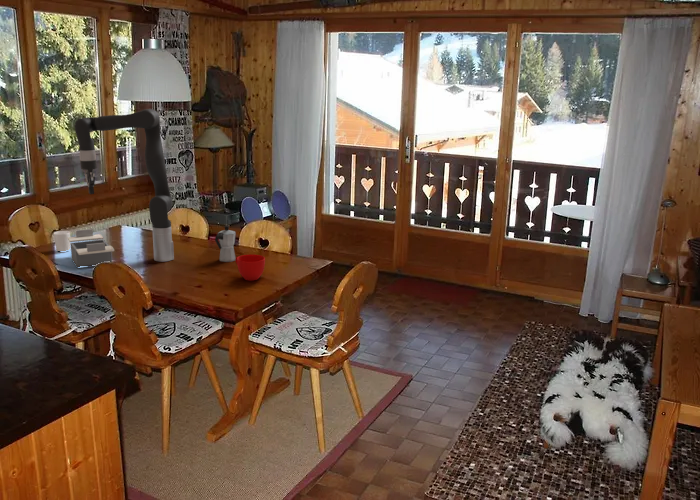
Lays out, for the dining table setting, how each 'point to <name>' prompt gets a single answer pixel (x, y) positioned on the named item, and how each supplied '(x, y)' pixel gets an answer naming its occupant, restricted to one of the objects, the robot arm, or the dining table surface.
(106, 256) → the box
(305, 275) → the dining table surface
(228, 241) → the coffee maker
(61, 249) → the white cup
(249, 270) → the ceramic cup
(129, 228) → the dining table surface
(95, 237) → the far panel
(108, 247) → the near panel
